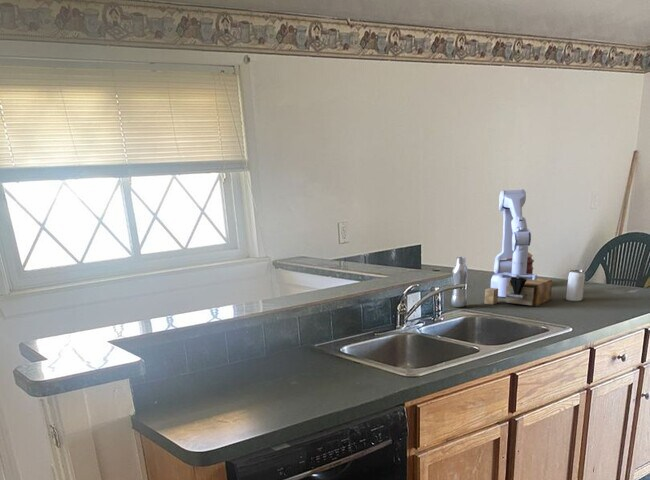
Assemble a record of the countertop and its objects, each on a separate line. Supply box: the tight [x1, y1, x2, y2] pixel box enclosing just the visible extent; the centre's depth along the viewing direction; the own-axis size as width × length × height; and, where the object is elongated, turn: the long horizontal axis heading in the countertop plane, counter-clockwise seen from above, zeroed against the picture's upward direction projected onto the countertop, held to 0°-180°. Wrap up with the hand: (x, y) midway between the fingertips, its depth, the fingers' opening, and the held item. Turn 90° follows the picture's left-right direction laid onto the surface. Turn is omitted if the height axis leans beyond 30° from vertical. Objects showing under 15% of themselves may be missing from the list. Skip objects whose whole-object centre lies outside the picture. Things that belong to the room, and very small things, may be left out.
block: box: [484, 287, 499, 305], centre depth 274 cm, size 4×4×6 cm
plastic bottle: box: [450, 256, 469, 308], centre depth 267 cm, size 6×7×20 cm
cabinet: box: [509, 277, 553, 307], centre depth 274 cm, size 15×13×9 cm
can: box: [565, 269, 586, 302], centre depth 272 cm, size 6×6×12 cm
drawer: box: [505, 285, 536, 306], centre depth 270 cm, size 18×11×7 cm, turn 140°
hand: (517, 296), depth 266 cm, fingers closed, pressing on drawer
